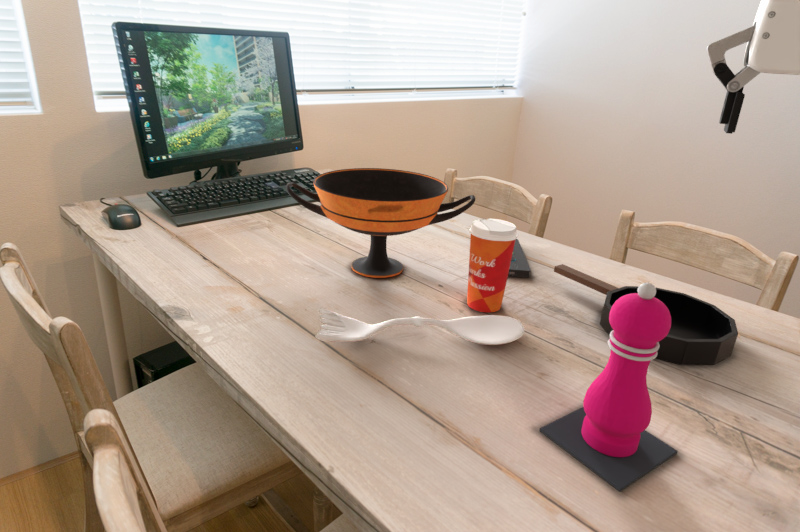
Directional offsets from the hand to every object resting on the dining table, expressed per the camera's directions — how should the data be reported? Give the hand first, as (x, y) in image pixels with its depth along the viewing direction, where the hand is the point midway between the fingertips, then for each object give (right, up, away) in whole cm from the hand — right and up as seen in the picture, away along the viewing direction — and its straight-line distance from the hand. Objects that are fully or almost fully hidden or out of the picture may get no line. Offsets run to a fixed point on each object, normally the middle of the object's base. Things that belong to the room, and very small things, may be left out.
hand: (782, 136), depth 54 cm
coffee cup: (-24, -20, +41) cm, 51 cm away
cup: (-43, -14, +54) cm, 70 cm away
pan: (+1, -22, +40) cm, 45 cm away
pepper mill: (-14, -34, +8) cm, 37 cm away
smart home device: (-16, -12, +63) cm, 66 cm away
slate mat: (-15, -34, +8) cm, 38 cm away
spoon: (-36, -25, +28) cm, 52 cm away
